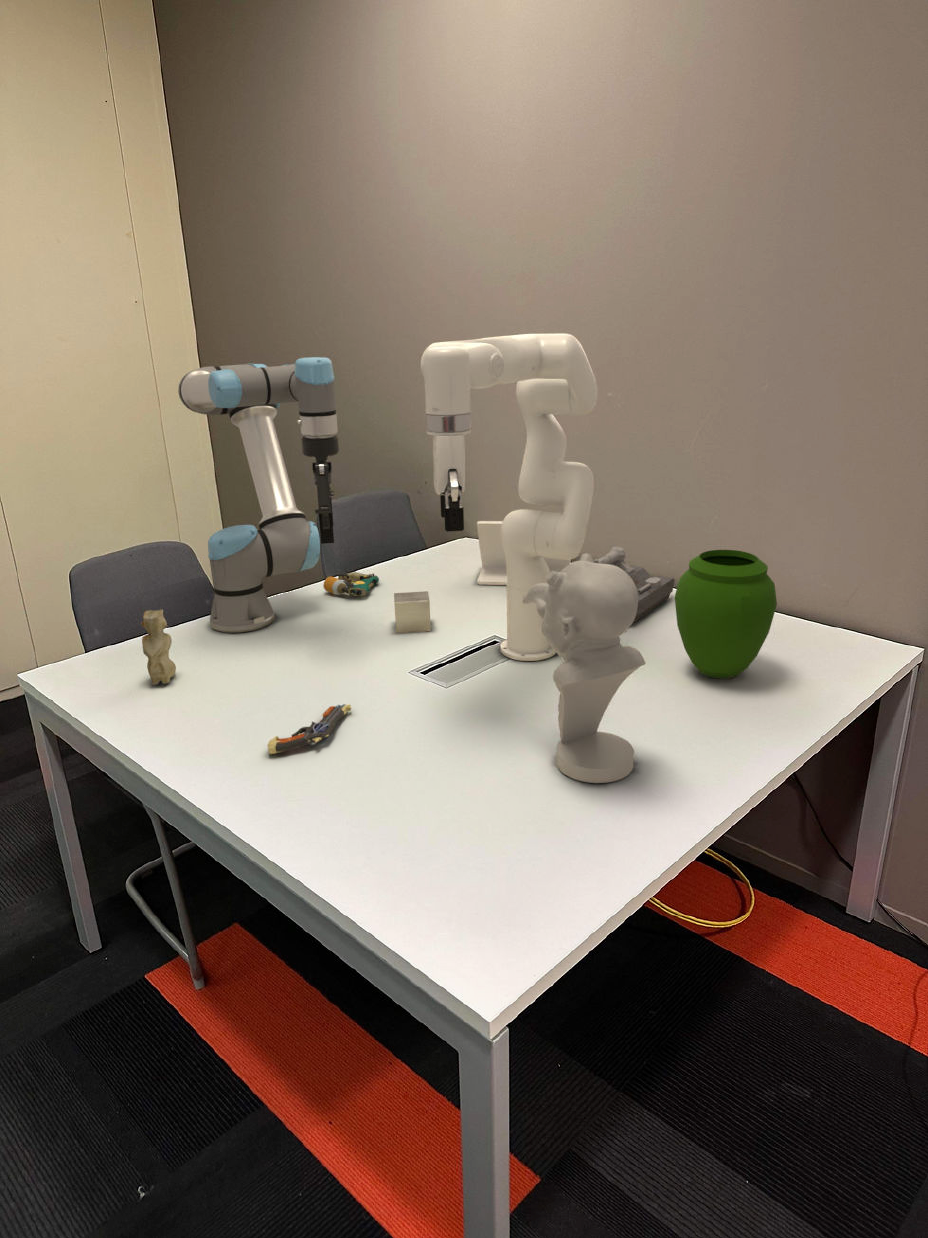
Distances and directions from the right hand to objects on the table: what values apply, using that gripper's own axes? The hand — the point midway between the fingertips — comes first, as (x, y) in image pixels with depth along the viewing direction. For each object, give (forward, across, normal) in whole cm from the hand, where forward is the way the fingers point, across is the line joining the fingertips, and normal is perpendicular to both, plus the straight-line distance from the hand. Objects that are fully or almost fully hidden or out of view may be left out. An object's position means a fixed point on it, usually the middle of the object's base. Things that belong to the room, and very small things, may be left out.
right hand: (452, 523), depth 149 cm
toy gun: (+37, +5, -27) cm, 46 cm away
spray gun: (+37, -77, -22) cm, 88 cm away
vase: (+37, -10, +54) cm, 66 cm away
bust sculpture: (+37, +20, +18) cm, 45 cm away
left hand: (+10, -37, -25) cm, 46 cm away
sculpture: (+37, -23, -60) cm, 74 cm away
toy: (+37, -53, +44) cm, 78 cm away
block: (+37, -46, -7) cm, 59 cm away
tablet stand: (+37, -81, +26) cm, 92 cm away
